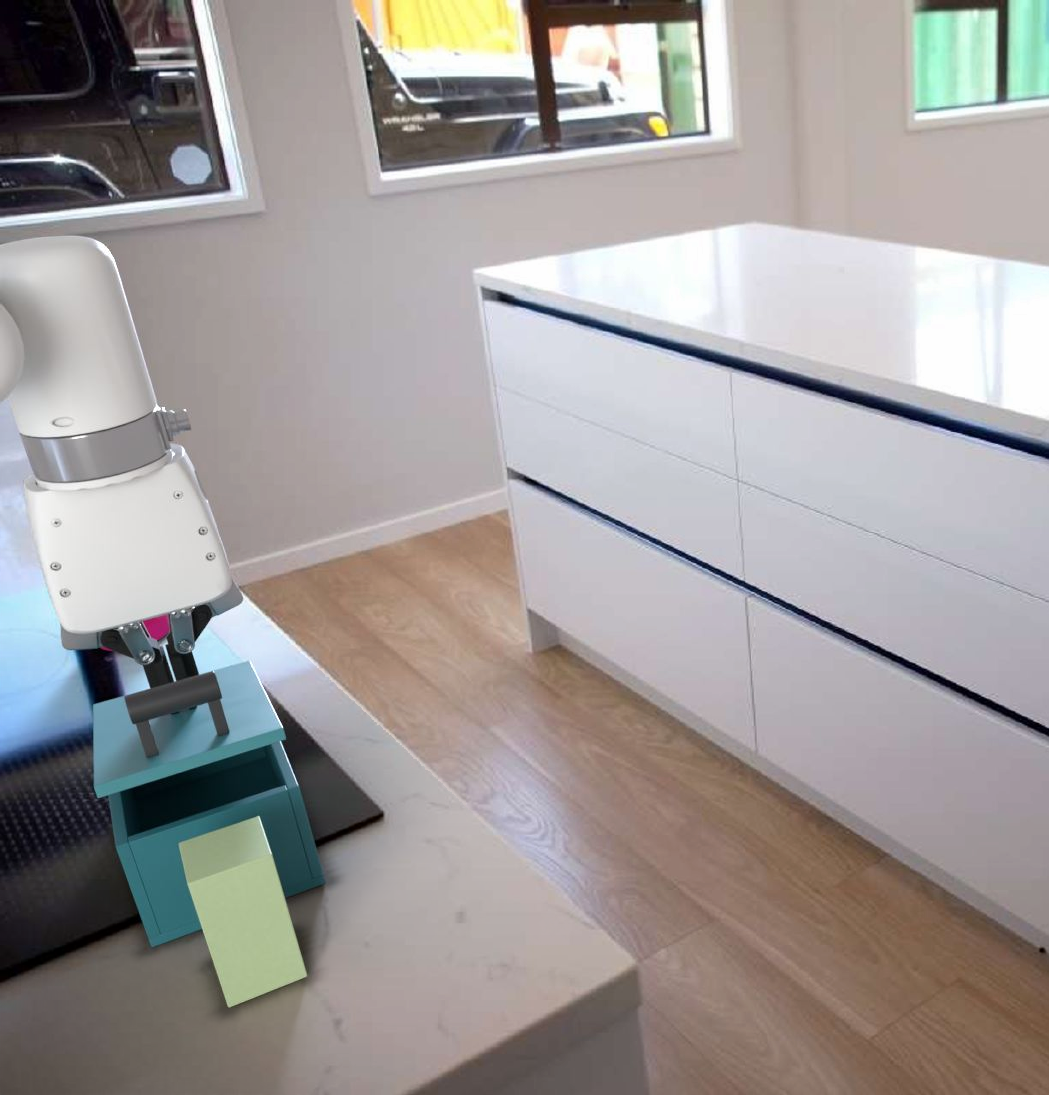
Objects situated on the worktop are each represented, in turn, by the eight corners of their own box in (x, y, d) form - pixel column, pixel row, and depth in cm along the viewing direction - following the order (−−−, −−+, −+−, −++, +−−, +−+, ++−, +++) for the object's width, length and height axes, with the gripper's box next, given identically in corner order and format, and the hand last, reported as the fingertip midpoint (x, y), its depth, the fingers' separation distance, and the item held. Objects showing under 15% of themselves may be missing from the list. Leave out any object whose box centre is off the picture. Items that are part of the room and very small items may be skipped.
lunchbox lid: (286, 739, 76) (265, 666, 75) (97, 798, 72) (72, 722, 71) (252, 670, 92) (235, 609, 91) (96, 715, 88) (75, 651, 86)
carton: (307, 976, 74) (272, 854, 70) (228, 1008, 72) (187, 884, 68) (293, 934, 77) (259, 815, 73) (217, 963, 75) (178, 842, 71)
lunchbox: (325, 883, 81) (299, 786, 78) (151, 948, 77) (115, 847, 74) (277, 757, 96) (252, 670, 92) (127, 805, 91) (96, 715, 88)
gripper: (221, 405, 82) (287, 647, 90) (-43, 457, 75) (54, 714, 83) (238, 434, 76) (308, 690, 84) (-46, 494, 70) (58, 767, 77)
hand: (181, 702), depth 84 cm, fingers closed
